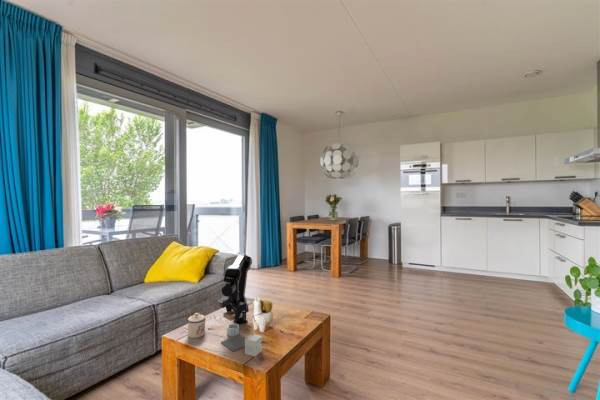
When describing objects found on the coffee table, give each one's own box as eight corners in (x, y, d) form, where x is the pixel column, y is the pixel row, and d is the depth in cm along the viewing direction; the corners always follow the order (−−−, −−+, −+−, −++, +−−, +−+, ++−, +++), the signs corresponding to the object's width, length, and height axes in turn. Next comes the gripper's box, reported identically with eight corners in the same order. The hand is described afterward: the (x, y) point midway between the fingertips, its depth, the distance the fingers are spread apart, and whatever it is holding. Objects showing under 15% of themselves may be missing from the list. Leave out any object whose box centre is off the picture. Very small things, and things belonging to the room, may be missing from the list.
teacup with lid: (198, 339, 154) (198, 317, 153) (183, 337, 156) (183, 315, 156) (211, 329, 165) (211, 309, 165) (198, 327, 168) (198, 307, 168)
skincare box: (255, 357, 137) (255, 341, 137) (244, 354, 140) (244, 338, 140) (262, 350, 143) (262, 335, 143) (251, 348, 145) (251, 333, 145)
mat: (241, 335, 159) (241, 334, 159) (253, 343, 150) (253, 342, 150) (220, 342, 150) (220, 341, 150) (233, 352, 142) (233, 350, 142)
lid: (235, 313, 166) (235, 307, 166) (242, 317, 160) (242, 311, 160) (223, 316, 161) (223, 311, 161) (230, 320, 155) (230, 315, 155)
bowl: (235, 329, 165) (235, 322, 165) (241, 333, 161) (241, 326, 161) (224, 333, 161) (224, 325, 161) (230, 337, 156) (230, 329, 156)
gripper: (211, 289, 162) (211, 317, 162) (228, 298, 148) (228, 328, 148) (229, 285, 169) (229, 312, 169) (247, 293, 156) (247, 322, 156)
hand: (232, 318), depth 161 cm, fingers closed on lid, 7 cm apart
